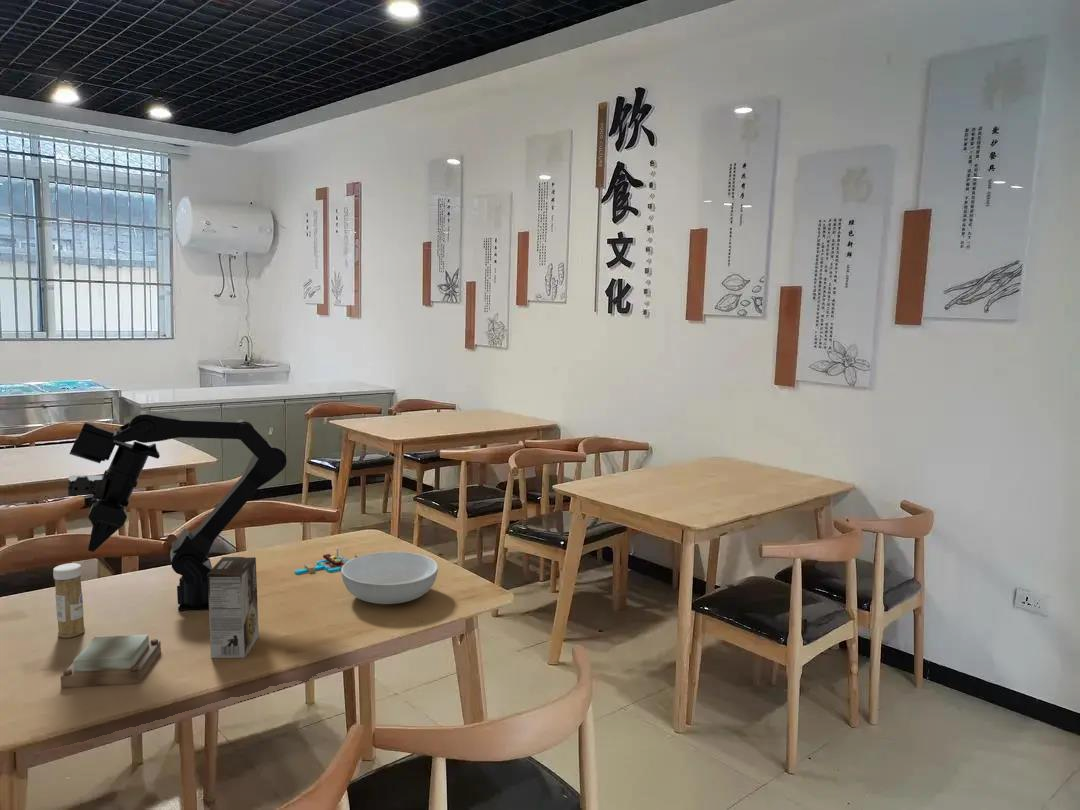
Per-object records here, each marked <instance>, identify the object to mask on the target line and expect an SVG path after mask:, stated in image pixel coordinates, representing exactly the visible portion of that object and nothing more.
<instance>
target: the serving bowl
mask: <svg viewBox="0 0 1080 810" xmlns="http://www.w3.org/2000/svg"><path fill="white" fill-rule="evenodd" d="M362 555H363V556H359V557H356V558H355V557H353V558H351V560H350V559H348V560H349V561H348V562H346V563H345V564H344V565H342V569H341V570H340V572H341V577H342V578H341V579H342V582H343V584H344V587H345V588H346V590H347V591H348V592H349V593H350V594H351V595H352V596H353V597H355V598H357V599H359V600H361V601H363V602H367V603H371V604H378V605H395V604H402V603H403V604H404V603H406V602H411V601H413V600H416V599H419V598H420V597H423V595H425V594H426V593H427V592H429V591H430V589H432V587H433V586H434V584H435V582H436V580H437V576H438V573H439V564H438V563H437V562H436V561H435V560H434V559H432V558H431V557H429V556H426V555H423V554H420V553H415V552H408V551H380V552H379V551H378V552H373V553H368V554H362Z"/></svg>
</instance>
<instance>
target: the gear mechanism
mask: <svg viewBox="0 0 1080 810" xmlns="http://www.w3.org/2000/svg"><path fill="white" fill-rule="evenodd" d="M363 555H364V554H362V553H356V554H354V558H356V557H359V556H363ZM322 557H323V559H322V560H317V561H316V565H317V566H314V565H312V564H311V563H307V564H304V568H301V569H296V570H294V574H295V575H301V574H305V573H308V574H313V573H315V572H316V571H321V570H324V571H326V572H327V573H329V574H330V573H335V572H339V571H340V572H341V569H342V566H343V565H344V564H345V563H346V562H348V561H349V560H351V559H352V558H351V559H347V558H345V557H343V556H339V547H336V556H335V555H331V554H330V553H326V554H323V555H322Z"/></svg>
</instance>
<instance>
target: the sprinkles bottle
mask: <svg viewBox="0 0 1080 810" xmlns="http://www.w3.org/2000/svg"><path fill="white" fill-rule="evenodd" d="M52 572H53V573H52V574H53V581H54V588H55V596H54V597H55V606H56V607H55V608H56V620H57V625H58V626H57V627H58V628H57V629H58V631H57V632H58V633H57V636H58V637H59V638H64V639H67V638H69V639H70V638H74V637H77V636H80V635H82V634H84V633H85V631H86V628H85V622H84V621H85V620H84V601H83V592H82V579H81V576H82V573H83V572H82V565H81V564H80V563H75V562H71V563H63V564H60V565H57V566H55V567H54V568H53V571H52Z"/></svg>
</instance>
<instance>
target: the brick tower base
mask: <svg viewBox="0 0 1080 810" xmlns="http://www.w3.org/2000/svg"><path fill="white" fill-rule="evenodd" d="M149 639H150V638H149V634H133V635H132V634H130V635H115V636H114V635H111V636H109V635H108V636H94V637H93V638H92V639H91V640H90V642H89V643H88V644H86V646H84V648H83V649H82V650H81V651H80V652H79V653H78V655H76V657H75V658H74V659H73V661H72V663H71V664H70V665H69V666H68V667H67V669H65V670H63V672H62V674H61V675H60V676H59V677H60V688H62V689H64V688H79V687H80V688H82V687H96V686H98V685H100V686H112V685H113V686H117V685H129V684H140V682H141V681H142V679H143V678H144V677H145V675H146V674H147V672H148V671H149V669H150V668H151V666H152V665H153V664H154V662H155V660H156V659H157V658H158V656H159V655H160V653H161V652H162V648H161V646H162V644H161V640H159V639H158V638H153V639H151V640H149Z"/></svg>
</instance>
